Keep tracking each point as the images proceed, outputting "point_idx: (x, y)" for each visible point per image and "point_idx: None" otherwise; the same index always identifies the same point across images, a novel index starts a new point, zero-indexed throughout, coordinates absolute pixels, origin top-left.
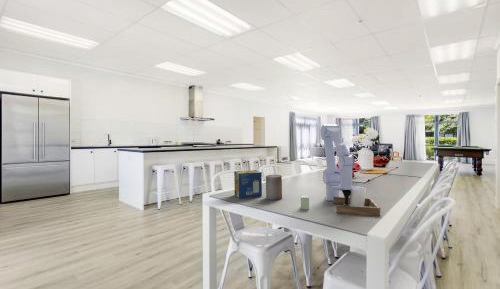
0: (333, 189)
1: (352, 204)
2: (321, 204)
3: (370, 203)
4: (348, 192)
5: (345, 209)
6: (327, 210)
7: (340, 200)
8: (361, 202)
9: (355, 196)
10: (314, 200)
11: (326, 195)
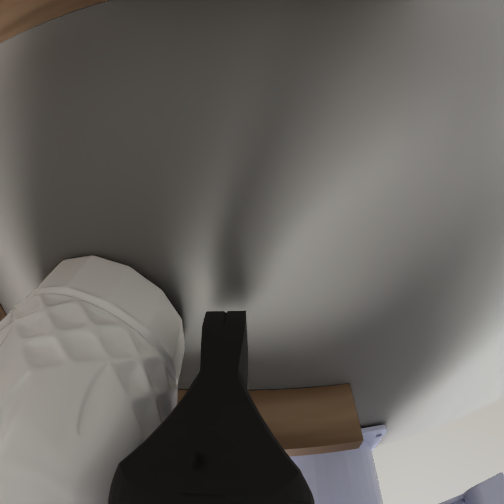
0: (488, 497)
1: (139, 306)
2: (471, 325)
3: None
4: (157, 499)
5: None
6: (496, 97)
7: (286, 419)
8: (13, 307)
9: (34, 388)
10: (460, 398)
11: (374, 466)
